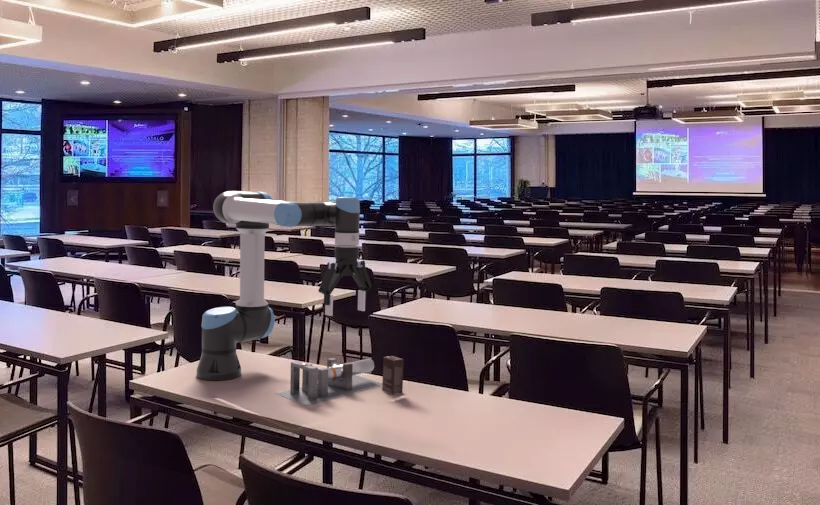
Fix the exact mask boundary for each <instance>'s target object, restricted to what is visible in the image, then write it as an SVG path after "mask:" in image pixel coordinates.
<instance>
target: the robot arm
mask: <svg viewBox="0 0 820 505" xmlns="http://www.w3.org/2000/svg"><path fill="white" fill-rule="evenodd" d="M212 207H213V214H214V215H215V217H216V219H218V220H219V221H220V222H222V223H224V224H229V225H235V229H236V231H238V232H239V234H240V235H239V236H240V238H239V240H240V241H239V242H240V243H239V244H240V245H239V246H240V248H239V250H240V251H239V299H238V300H237V301H236V302H235V307H234V306H219V307H214V308H211V309H208V310H206V311H204V313H203V314H202V316H201V317H202V318H201V324H200V326H201V356H200V358H199V362H198V364H197V367H196V377H197V378H198V379H201V380H205V381H224V380H225V381H226V380H232V379H235V378H239V377H240V376H241V375H242V366H241V364H240V360H239V357H238V355H237V343H243V342H248V341H254V340H255V341H257V340H260V339H264V338H266V337H269V335H270V334H272V332H273V330H274V328H275V325H276V324H275V323H276V319H275V318H276V317H275V314H274V311H273V309H272V308H271V307H269V302H267V300H266V299H265V249H266V248H265V247H266V246H265V241H266V240H265V238H266V237H265V235H266V233H267V232H268V231H269V230H270V224H271V225H272V224H273V225H279V226H281V227H287V228H293V227H316V226H317V227H318V226H319V227H321V226H325V227H326V226H328V227H335V230H334V245H335V247H334V258H335V262H330V261H328V262H327V264H326V270H325V273H324V276H323V278H322V281H321V282H320V286H319V288H318V293H320V294H323V304H324V306H325V307H324V309H325V310H324V315H325V316H329V317H333V314H334V313H333V312H334V311H333V310H334V309H333V308H334V295H333V294H332V293H333V291H334V290H335V288H336V287H337V284H338V283H339V282H340V280H341V279H342V278H343V277H347V276H351V277H352V278H353V281H355V283H356V285H357V286H358V288H359V289H358V290H357V311H359V312H360V311H361V312H365V311H366V301H367V295H368V294H367V292H368V291H370V289H371V288H372V287H373V286H372V285H373V284H372V283H371V282H372V281H371V279H370V276H369V274H368V272H367V268H366V261H365V260H362V259H359V257H360V256H359V254H360V250H359V247H358V246H359V245H360V244H359V243H360V215H361V205H360V199H359V198H358V197H357V196H356V197H355V196H337V197H336V198H335V202H329V201H290V200H288V201H287V200H286V201H285V200H274V199H273V198H272V196H271V195H270V194H269V193H267V192H266V191H258V190H227V191H224V192H222V193H220V194H219V195H217V197H215V199H214V202H213V206H212Z"/></svg>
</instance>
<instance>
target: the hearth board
mask: <svg viewBox="0 0 820 505" xmlns="http://www.w3.org/2000/svg"><path fill="white" fill-rule="evenodd" d="M378 387H382V382H380V381H376V380H373V379H369V378H366V377H363V376H359V375H358V374H357V375H353V376H352V390H349V391H345V390H342V389H339V388H336V387H332V386H329V385H328V396H327V397H323V398H321V397H318V396H317V400H313V401H310V400H308V393H307V392H304V391H302V386H301V387H300V388H299V393H297V394H291V393H290V390H286V391H281V392H277V393H276V395H277V396H280V397H283V398H286V399H287V400H288V399H289V400H290V401H293V402H296V403H299V404H302V405H304V406H307V407H308V406H311V405H316V404H319V403H323V402H327V401H330V400H333V399H338V398H341V397H345V396H349V395H352V394H355V393H360V392H364V391H367V390H370V389H374V388H378Z"/></svg>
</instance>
